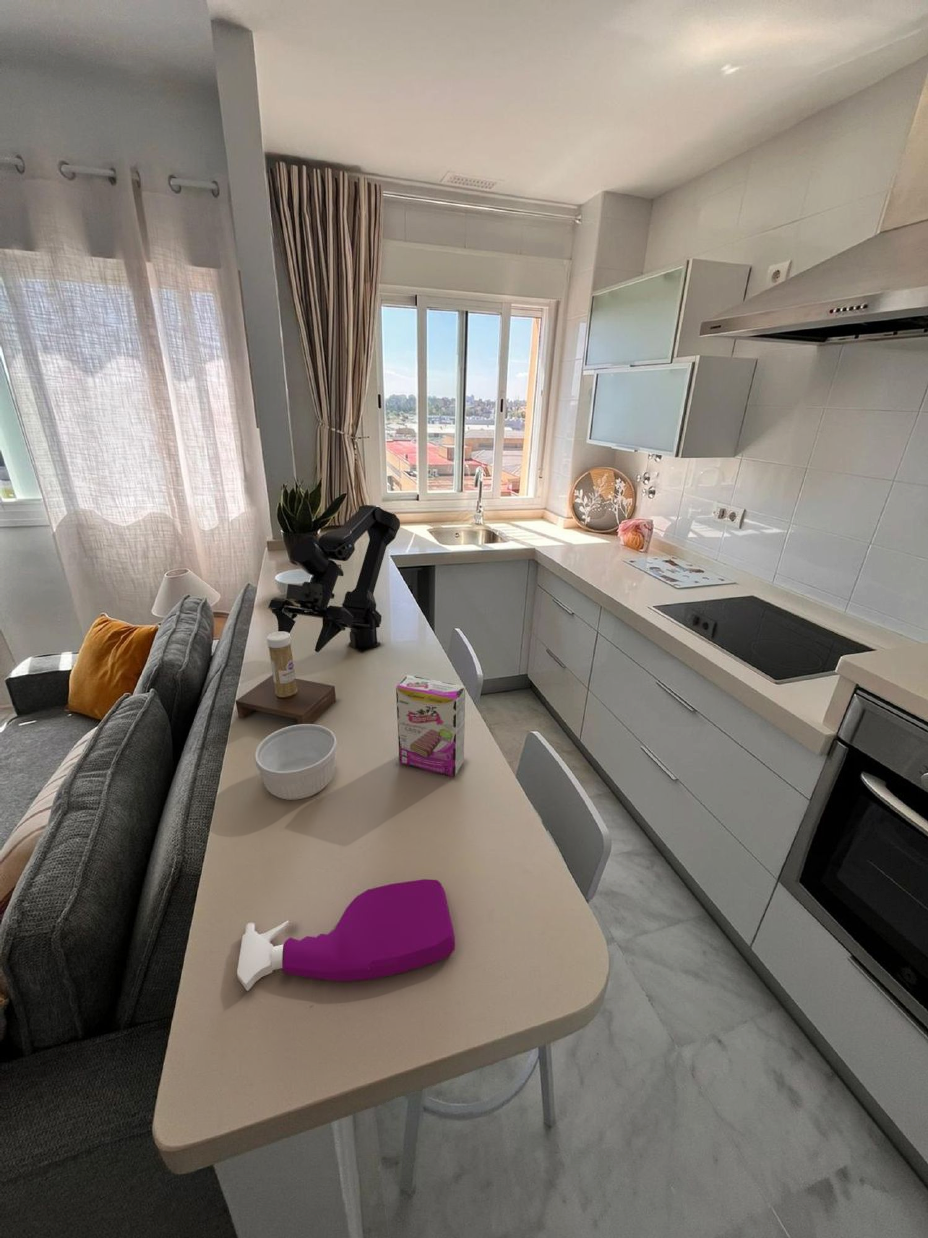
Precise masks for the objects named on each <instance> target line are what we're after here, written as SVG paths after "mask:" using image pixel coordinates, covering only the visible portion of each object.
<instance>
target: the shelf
mask: <svg viewBox="0 0 928 1238" xmlns="http://www.w3.org/2000/svg"><path fill="white" fill-rule="evenodd" d="M295 679H296V686H297V692H296V693H295V694H294V695H292V696H289V697H279V696H277V695H276V693H275V691H276V690H275V683H274V679H273V674H271V675H270V676H268V677H267V678H266V679H264V680H263V681H261V682H260V683H258V684H257V685H255V686H253V687H252V688H251V689H250V690H248V691H247V692H246V693H244V694H243V695H241V696H240V697H239V698H237V699H236V700H235V707H236V711H237V716H238V718H240V719H244V718H245V717H247V716H248V715H249V714H251V713H252V712H253V711H258V712H263V713H267V714H273V715H277V716H283V717H286V718H291V719H296V720H297V725H300V724H314V723H315V722H316V721H317V720H318V719H319V718H320V717H322V716H323V714H324V713H326V712H327V711H328V710H329V709H330V708H331V707H332V706H333V705H334V704H335V703H336V702H337V698H336V689H335V685H333V684H332V685H331V684H328V683H327V684H326V683H323V682H316V681H312V680H306V679H300V678H296V677H295Z"/></svg>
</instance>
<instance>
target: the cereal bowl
mask: <svg viewBox="0 0 928 1238" xmlns="http://www.w3.org/2000/svg"><path fill="white" fill-rule="evenodd" d="M310 576H311V575H310V574H308V573H306V572H305V571H304V570H303V569H302V568H299V569H297V568H296V569H291V570H290V569H289V570H286V571H282V572H279V573H277V574H276V575H275V576H274V582H275V586H276V589H277V590H278V591H279V592H280V593H281V594H283V595H285V596H286V590H287V584H292V585H300V586H302V585H303V583H304V582H308V581H309V579H310Z"/></svg>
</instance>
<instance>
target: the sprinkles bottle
mask: <svg viewBox="0 0 928 1238" xmlns="http://www.w3.org/2000/svg"><path fill="white" fill-rule="evenodd" d="M266 645H267V647H268V651H269V657H270V658H269V659H270V660H269V661H270V666H271V672H272V675H273V679H274V683H275V690H276V691H275V693H276V695H277V696H279V697H289V696H292V695H294V694H295V693H296V692H297V686H296V679H297V678H296V677H297V676H296V670H295V663H294V658H293V651H292V637H291V633H290V634H289V633H288V632H284V631H279V632H278V631H274V632H271V633H269V634H268V635H267V636H266ZM295 678H296V679H295Z"/></svg>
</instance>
